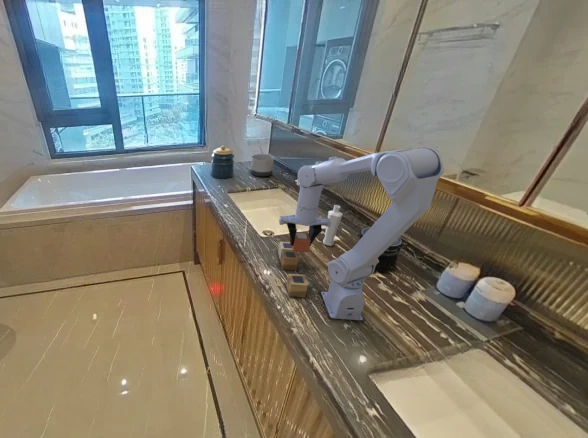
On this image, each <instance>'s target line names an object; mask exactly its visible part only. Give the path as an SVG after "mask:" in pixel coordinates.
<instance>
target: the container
mask: <svg viewBox="0 0 588 438" xmlns="http://www.w3.org/2000/svg"><path fill="white" fill-rule="evenodd" d="M371 227H372V226H370V227H364V228H363V229H361V230H359V231H358V232H357V238H356V242H355V244H354V246H355V245H356V244H357V243H358V241H359V240H360V239H361V238H362V237H363V236H364V235H365V233H366V232H367V231H368V230H369V229H370V228H371ZM403 248H404V243H403V241H402V239H401V236H400V237H399V238H398V239H397V240H396V241H395V242H394V243H393V244H392V245H390V246H389V247H388V248H387V249H386V250H385V251H384V252H383V253H382V254H381V255H380V256H379V257H378V260H379V263H377V265H376V266H375V270H374V272H388V271H390V270H391V268H392V267H393V266H394V265H396V264H397V262H398V255H399V253H400V252H401V250H402V249H403Z"/></svg>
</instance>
